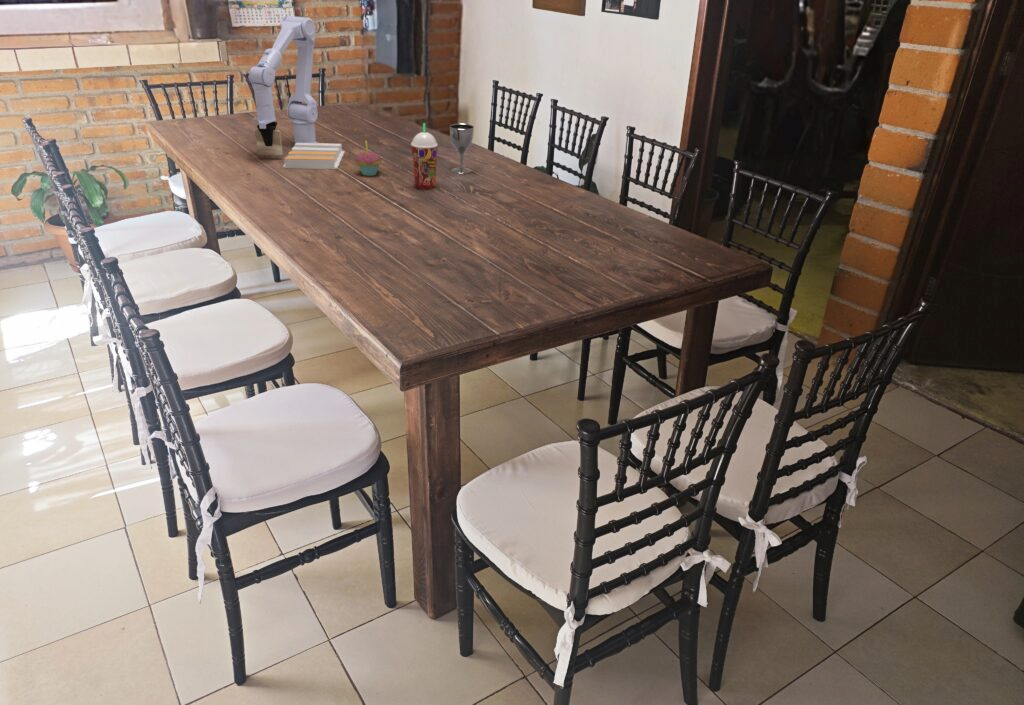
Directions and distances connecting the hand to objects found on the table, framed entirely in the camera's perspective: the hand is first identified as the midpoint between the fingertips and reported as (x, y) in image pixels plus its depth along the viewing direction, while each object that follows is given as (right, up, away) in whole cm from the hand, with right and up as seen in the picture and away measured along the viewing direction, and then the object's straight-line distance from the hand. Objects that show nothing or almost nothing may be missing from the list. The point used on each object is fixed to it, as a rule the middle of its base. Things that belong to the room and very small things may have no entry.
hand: (269, 145), depth 259 cm
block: (0, -3, +2) cm, 3 cm away
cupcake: (+36, -12, -7) cm, 38 cm away
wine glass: (+66, -9, 0) cm, 67 cm away
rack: (+15, -4, +4) cm, 16 cm away
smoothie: (+56, -18, -17) cm, 61 cm away
